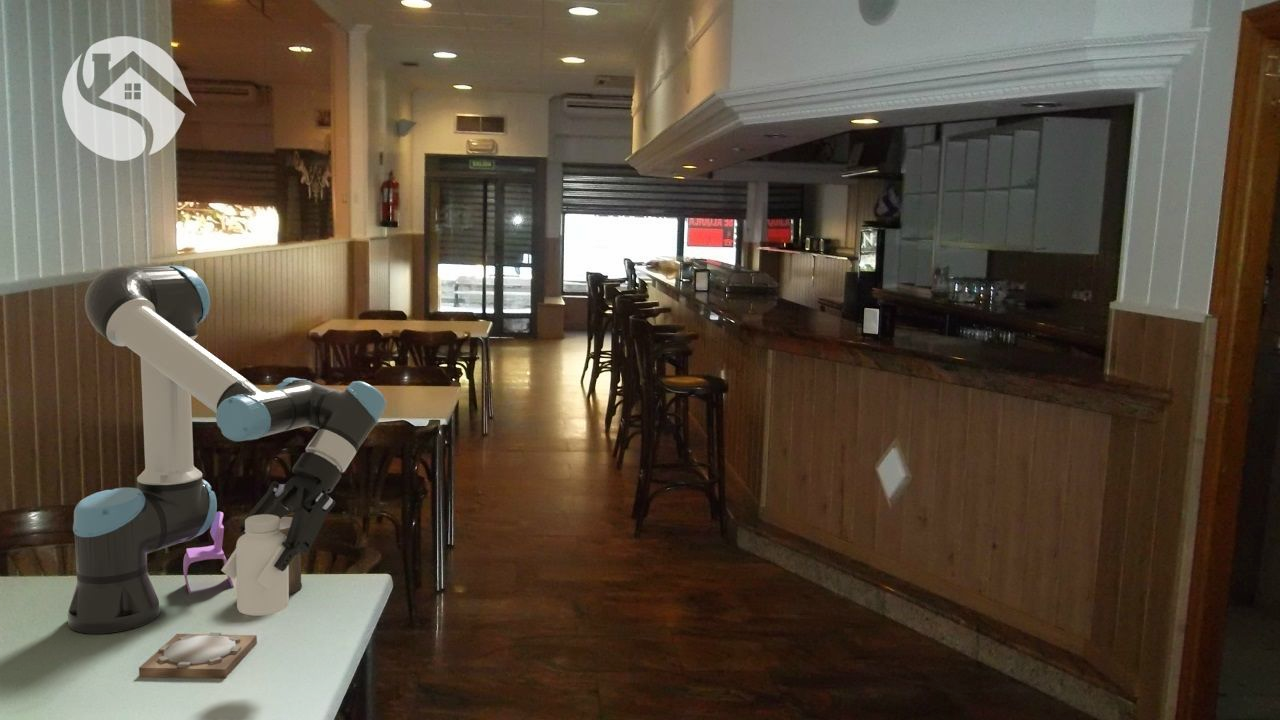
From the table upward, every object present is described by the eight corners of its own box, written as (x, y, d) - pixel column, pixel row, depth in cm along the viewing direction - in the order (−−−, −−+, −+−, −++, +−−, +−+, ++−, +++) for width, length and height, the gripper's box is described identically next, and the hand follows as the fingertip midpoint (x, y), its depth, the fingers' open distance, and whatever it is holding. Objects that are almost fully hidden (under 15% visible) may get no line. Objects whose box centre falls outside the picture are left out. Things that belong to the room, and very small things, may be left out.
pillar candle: (310, 582, 214) (308, 511, 212) (286, 599, 205) (284, 524, 203) (266, 579, 216) (263, 509, 214) (241, 595, 206) (237, 522, 204)
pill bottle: (299, 606, 171) (298, 517, 169) (258, 621, 164) (256, 529, 162) (268, 595, 175) (266, 508, 173) (226, 609, 169) (224, 519, 166)
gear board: (139, 676, 170) (138, 664, 169) (177, 641, 184) (176, 630, 183) (225, 678, 170) (225, 666, 169) (256, 643, 184) (256, 632, 183)
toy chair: (183, 582, 213) (180, 511, 211) (229, 576, 217) (226, 506, 215) (187, 596, 206) (184, 522, 204) (234, 589, 210) (232, 516, 208)
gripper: (378, 484, 175) (302, 606, 163) (295, 465, 185) (218, 578, 174) (354, 459, 169) (273, 583, 158) (270, 441, 180) (189, 555, 169)
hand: (244, 580), depth 166 cm, fingers closed on pill bottle, 8 cm apart
